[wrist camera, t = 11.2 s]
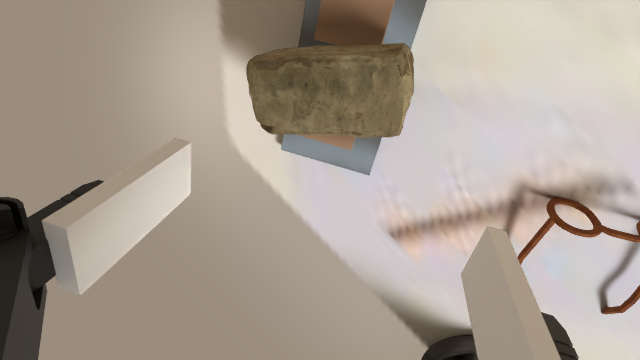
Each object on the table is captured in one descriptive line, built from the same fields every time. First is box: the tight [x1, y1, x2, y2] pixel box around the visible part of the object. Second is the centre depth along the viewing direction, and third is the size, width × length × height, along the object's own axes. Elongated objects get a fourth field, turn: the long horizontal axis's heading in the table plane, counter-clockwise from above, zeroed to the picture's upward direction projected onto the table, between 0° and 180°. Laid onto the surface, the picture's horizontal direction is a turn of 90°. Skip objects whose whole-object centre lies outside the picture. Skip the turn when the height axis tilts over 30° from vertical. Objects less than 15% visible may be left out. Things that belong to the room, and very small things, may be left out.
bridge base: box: [281, 0, 427, 175], centre depth 30 cm, size 22×10×7 cm, turn 168°
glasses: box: [518, 198, 640, 314], centre depth 37 cm, size 13×13×5 cm
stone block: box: [247, 43, 414, 138], centre depth 25 cm, size 6×12×5 cm, turn 94°
